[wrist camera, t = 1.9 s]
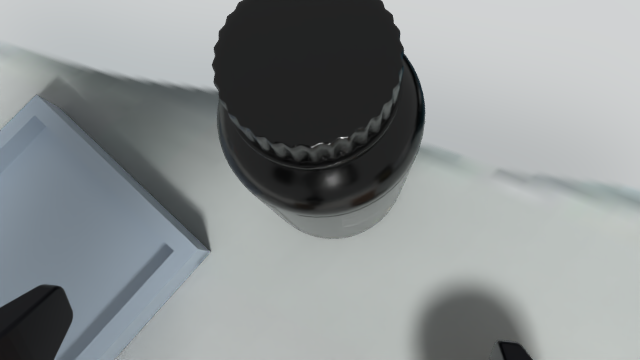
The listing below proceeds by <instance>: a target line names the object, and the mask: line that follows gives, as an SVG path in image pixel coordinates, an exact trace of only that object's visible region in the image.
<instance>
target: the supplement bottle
mask: <svg viewBox="0 0 640 360" xmlns="http://www.w3.org/2000/svg"><path fill="white" fill-rule="evenodd" d="M214 53H215V58H214V60H213V64H212V67H213V69H214V71H215V76H214V84H215V86H216V88H217V89H218V91H219V103H218V109H217V127H218V134H219V140H220V143H221V147H222V150H223V153H224V155H225V158H226V160H227V162H228V164H229V166H230V167H231V169H232V170H233V172H234V173H235V175H236V176H237V177H238V178H239V180H240V181H241V182H242V183H243V184H244V186H245V187H246V188H247V189H248V190H249V191H250V192H251V193H253V194H254V195H255V196H256V197H257V198H258V199H260V200H261V201H262V202H263V203H264V204H266V205H267V206H268V207H269V208H270V209H272V210H273V211H274V212H275V213H276V214H278V215H279V216H280V217H281V218H282V219H284V220H285V221H286V222H287V223H289V224H290V225H292V226H293V227H295V228H296V229H298V230H300V231H302V232H304V233H306V234H309V235H312V236H315V237H320V238H328V239H338V238H346V237H351V236H354V235H357V234H359V233H362V232H364V231H366V230H368V229H370V228H371V227H373V226H374V225H375V224H377V223H378V222H379V221H380V220H381V219H382V218H383V217H384V216H385V215H386V214H387V213H388V212H389V211H390V209H391V208H392V206H393V205H394V203H395V201H396V200H397V198H398V196H399V194H400V191H401V189H402V187H403V185H404V182H405V180H406V178H407V176H408V173H409V171H410V169H411V167H412V164H413V162H414V160H415V157H416V155H417V152H418V150H419V147H420V144H421V140H422V136H423V130H424V124H425V103H424V96H423V91H422V88H421V84H420V81H419V79H418V76H417V74H416V72H415V70H414V68H413V66H412V64H411V63H410V61H409V60H408V58H407V57H406V55H405V54H404V48H403V46H402V44H401V42H400V30H399V29H398V28H397V26H395V24H394V20H393V15H392V14H391V13H390V12H389V11H387V10H386V9H385V8H384V4H383V2H382V1H381V0H243V1H241V2H239V3H238V5H237V7H236V9H235V11H234V12H232V13H231V14H230V15H228V16H227V19H226V23H225V25H224V26H223V27H222V29H221V30H220V31H219V40H218V42H217V43H216V45H215V47H214Z"/></svg>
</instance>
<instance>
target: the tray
mask: <svg viewBox="0 0 640 360" xmlns="http://www.w3.org/2000/svg"><path fill="white" fill-rule="evenodd" d="M209 253H210V251H209V250H208V249H207V248H206V247H205V246H204V245H203V244H202V243H201V242H200V241H199V240H198V239H197V238H196V237H195V236H194V235H193V234H191V233H190V232H189V231H188V230H187V229H186V228H185V227H184V226H183V225H182V224H181V223H180V222H179V221H178V220H177V219H176V218H175V217H174V216H173V215H172V214H170V213H169V212H168V211H167V210H166V209H165V208H164V207H163V206H162V205H161V204H160V203H159V202H158V201H157V200H156V199H155V198H154V197H153V196H152V195H150V194H149V193H148V192H147V191H146V190H145V189H144V188H143V187H142V186H141V185H140V184H139V183H138V182H137V181H136V180H135V179H134V178H133V177H132V176H130V175H129V174H128V173H127V172H126V171H125V170H124V169H123V168H122V167H121V166H120V165H119V164H118V163H117V162H116V161H115V160H114V159H113V158H112V157H111V156H109V155H108V154H107V153H106V152H105V151H104V150H103V149H102V148H101V147H100V146H99V145H98V144H97V143H96V142H95V141H94V140H93V139H92V138H91V137H89V136H88V135H87V134H86V133H85V132H84V131H83V130H82V129H81V128H80V127H79V126H78V125H77V124H76V123H75V122H74V121H73V120H72V119H71V118H70V117H68V116H67V115H66V114H65V113H64V112H63V111H62V110H61V109H60V108H59V107H57V106H55V105H54V104H52V103H50V102H49V101H47V100H45V99H43V98H42V97H40V96H38V95H37V94H36V95H35V96H34V97H33V98H32V99H31V100H30V101H29V102H28V103H27V104H26V105H25V106H24V107H23V108H22V109H21V110H20V111H19V112H18V113H17V114H16V115H15V116H14V117H13V118H12V119H11V120H10V121H9V122H8V123H7V124H6V125H5V126H4V127H3V128H2V129H1V130H0V307H2V306H3V305H5V304H7V303H9V302H11V301H12V300H14V299H16V298H18V297H19V296H21V295H23V294H25V293H26V292H28V291H30V290H32V289H33V288H35V287H37V286H39V285H42V284H49V285H57V286H61V287H62V288H63V289H64V290H65V293H66V295H67V298H68V300H69V302H70V305H71V307H72V310H73V320H72V323H71V325H70V327H69V330H68V332H67V334H66V336H65V338H64V340H63V342H62V344H61V346H60V348H59V350H58V353H57V355H56V357H55V359H54V360H114V359H115V358H116V357H117V356H118V355H119V353H120V352H121V351H122V350H123V349H124V348H125V347H126V346H127V345H128V343H129V342H130V341H131V340H132V339H133V338H134V337H135V336H136V335H137V333H138V332H139V331H140V330H141V329H142V328H143V327H144V326H145V325H146V323H147V322H148V321H149V320H150V319H151V318H152V317H153V316H154V315H155V313H156V312H157V311H158V310H159V309H160V308H161V307H162V306H163V305H164V303H165V302H166V301H167V300H168V299H169V298H170V297H171V296H172V294H173V293H174V292H175V291H176V290H177V289H178V288H179V287H180V286H181V284H182V283H183V282H184V281H185V280H186V279H187V278H188V277H189V276H190V274H191V273H192V272H193V271H194V270H195V269H196V268H197V267H198V266H199V264H200V263H201V262H202V261H203V260H204V259H205V258H206V257H207V256H208V254H209Z"/></svg>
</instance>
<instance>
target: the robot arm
mask: <svg viewBox="0 0 640 360" xmlns="http://www.w3.org/2000/svg"><path fill="white" fill-rule="evenodd" d="M72 320H73V310H72V307H71V305H70V302H69V300H68V298H67V295H66V293H65V290H64V289H63V288H62V287H61V286H57V285H49V284H42V285H39V286H37V287H35V288H33V289H32V290H30V291H28V292H26V293H25V294H23V295H21V296H19V297H18V298H16V299H14V300H12V301H11V302H9V303H7V304H5V305H3V306H2V307H0V360H54V359H55V357H56V355H57V353H58V350H59V348H60V346H61V344H62V342H63V340H64V338H65V336H66V334H67V332H68V330H69V327H70V325H71V323H72ZM489 360H533V359H532V358H531V357H530V355H529V354H528V353H527V352H526V350H525V349H524V348H523V347H522V345H520V344H519V343H517V342H513V341H505V340H498V341H496V342H495V344H494V347H493V350H492V352H491V355H490V358H489Z"/></svg>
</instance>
